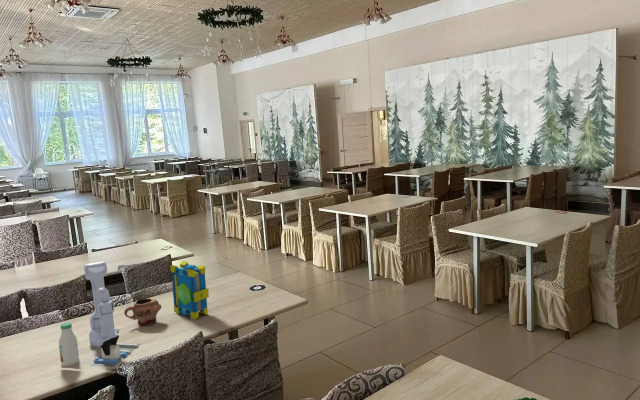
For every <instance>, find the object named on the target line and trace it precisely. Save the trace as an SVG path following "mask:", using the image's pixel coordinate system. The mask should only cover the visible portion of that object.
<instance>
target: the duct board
mask: <svg viewBox="0 0 640 400" xmlns="http://www.w3.org/2000/svg"><path fill="white" fill-rule="evenodd" d="M116 345H119V347H120V358H119V359H118V358H116V359H115V360H110V359H102V356H97V357H95V358H94V359H93V363H92V364H90V366H94V367H107V368H108V367H111V368H113V367H116V366H117V365H118V364H119V363H121V361H123V359H125V358H126V357H127V356H128V355H130V354H131V353H132V352H133V351H135V349H137V348H138V347H139V346H140V345H141V343H132V342H131V343H129V342H117V344H116Z"/></svg>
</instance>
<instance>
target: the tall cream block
mask: <svg viewBox="0 0 640 400" xmlns="http://www.w3.org/2000/svg"><path fill="white" fill-rule="evenodd" d="M100 350H101V353H100V354H101V357H102V359H110V360H115V359H116V358H118V359H119V358H120V347H119V345H110V355H109V356H105V354H104V351H103V349H102V348H101V347H100Z"/></svg>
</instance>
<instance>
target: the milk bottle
mask: <svg viewBox="0 0 640 400" xmlns="http://www.w3.org/2000/svg"><path fill="white" fill-rule="evenodd" d="M72 328H73V326H72V322H64V323H61V324H60V330H61V333H60V336H59V340H58V347H59V357H60V365H61V366H63V367H69V366H73V365H75V364H77V363H79V361H80V354H79V346H78V339H77V336H76V335H75V333H74V332H73V329H72Z"/></svg>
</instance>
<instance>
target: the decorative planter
mask: <svg viewBox="0 0 640 400" xmlns="http://www.w3.org/2000/svg"><path fill="white" fill-rule="evenodd" d="M161 309H162V305H161V304H160V303H159V301H158V299H156V298H149V297H148V298H141V299H138V300H136V301H135V302H134V303H133V305H131V306H128V307H126V308H125V309H124V316H125V317H126V318H128V319H131V320H134V321H137V324H138V325H139V326H140V327H146V326H147V327H148V326H151V325H154V324H156V322H157V314H158V312H159V311H161ZM129 311H132V313H133V314H132V315H131V316H129V315H128V312H129Z"/></svg>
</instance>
